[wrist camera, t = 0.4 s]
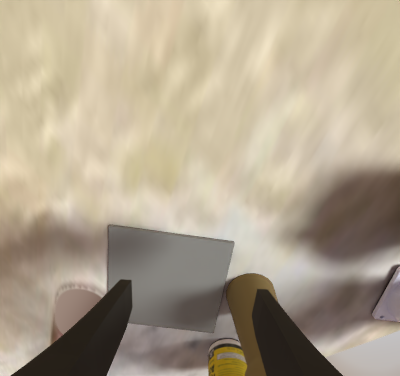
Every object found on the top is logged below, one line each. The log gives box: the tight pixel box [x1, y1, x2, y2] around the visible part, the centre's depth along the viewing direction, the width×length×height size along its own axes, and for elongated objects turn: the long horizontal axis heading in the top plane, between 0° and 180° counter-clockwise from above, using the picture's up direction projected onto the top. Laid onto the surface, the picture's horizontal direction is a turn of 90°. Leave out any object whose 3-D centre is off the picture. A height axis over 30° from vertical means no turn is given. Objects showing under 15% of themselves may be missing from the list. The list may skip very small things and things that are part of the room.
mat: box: [108, 225, 234, 333], centre depth 23 cm, size 14×14×1 cm
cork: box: [226, 273, 278, 376], centre depth 19 cm, size 6×6×11 cm
